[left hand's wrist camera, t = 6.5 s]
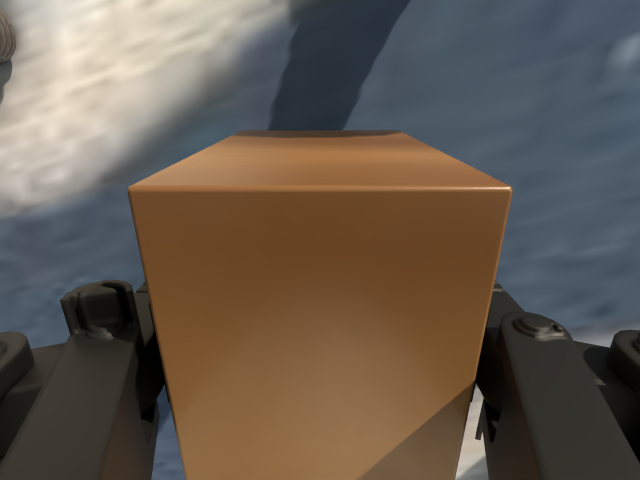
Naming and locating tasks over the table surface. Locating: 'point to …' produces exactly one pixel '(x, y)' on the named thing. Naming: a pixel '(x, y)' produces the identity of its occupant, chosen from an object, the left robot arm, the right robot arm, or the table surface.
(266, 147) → the bar
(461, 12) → the table surface
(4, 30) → the light bulb
